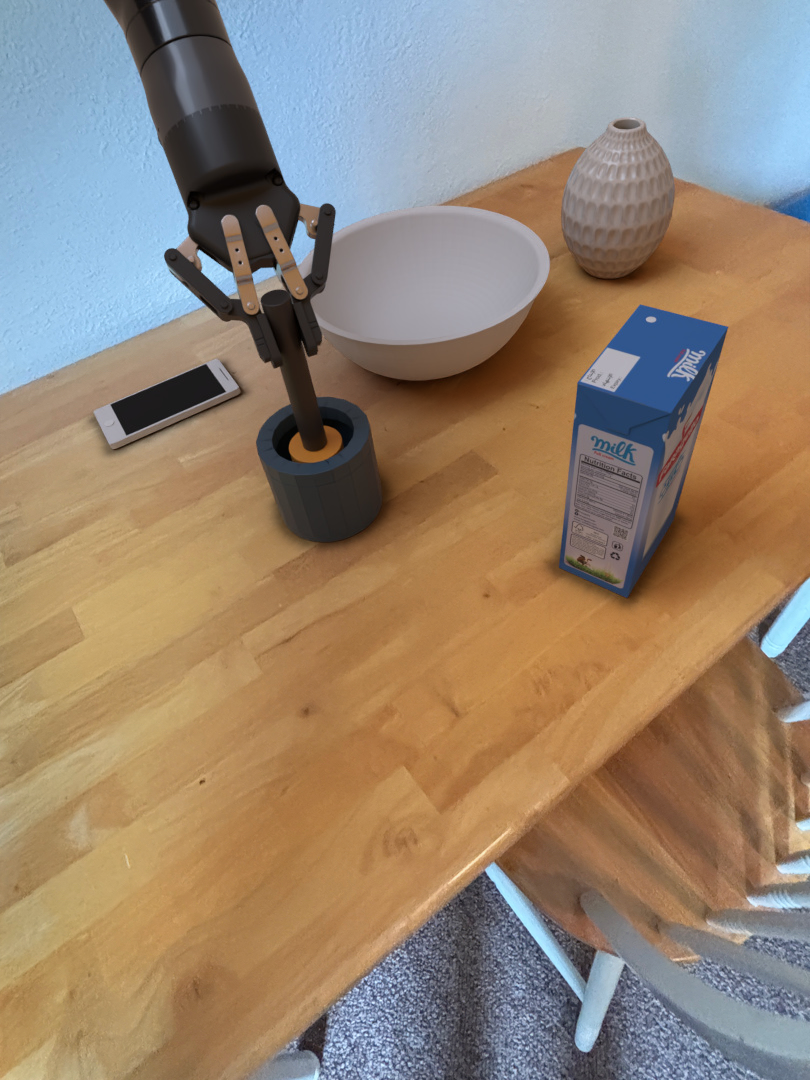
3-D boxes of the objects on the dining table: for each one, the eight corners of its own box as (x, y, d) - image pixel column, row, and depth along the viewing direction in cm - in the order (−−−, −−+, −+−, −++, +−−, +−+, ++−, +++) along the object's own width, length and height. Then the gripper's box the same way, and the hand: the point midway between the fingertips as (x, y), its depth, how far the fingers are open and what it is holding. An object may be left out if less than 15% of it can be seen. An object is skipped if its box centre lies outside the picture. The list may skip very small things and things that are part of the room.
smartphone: (95, 416, 81) (91, 409, 80) (219, 363, 85) (216, 356, 84) (112, 450, 77) (108, 444, 76) (241, 393, 81) (239, 387, 80)
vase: (538, 258, 93) (544, 119, 80) (623, 230, 95) (642, 91, 82) (592, 305, 85) (608, 160, 72) (683, 274, 87) (715, 127, 74)
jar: (309, 559, 65) (286, 492, 58) (264, 495, 70) (238, 427, 63) (402, 509, 67) (390, 439, 60) (351, 452, 73) (335, 382, 66)
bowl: (284, 324, 89) (264, 249, 81) (478, 260, 94) (476, 183, 86) (361, 457, 72) (344, 378, 65) (592, 371, 77) (602, 288, 69)
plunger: (311, 498, 63) (259, 324, 50) (288, 468, 66) (232, 295, 52) (358, 474, 65) (318, 298, 51) (333, 445, 67) (289, 272, 54)
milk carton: (626, 599, 58) (670, 412, 43) (558, 568, 61) (576, 382, 46) (673, 519, 63) (729, 325, 48) (608, 494, 66) (640, 303, 50)
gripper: (106, 128, 47) (203, 379, 49) (304, 77, 49) (389, 319, 51) (128, 180, 54) (211, 396, 56) (299, 133, 56) (374, 343, 58)
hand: (295, 358), depth 53 cm, fingers closed on plunger
